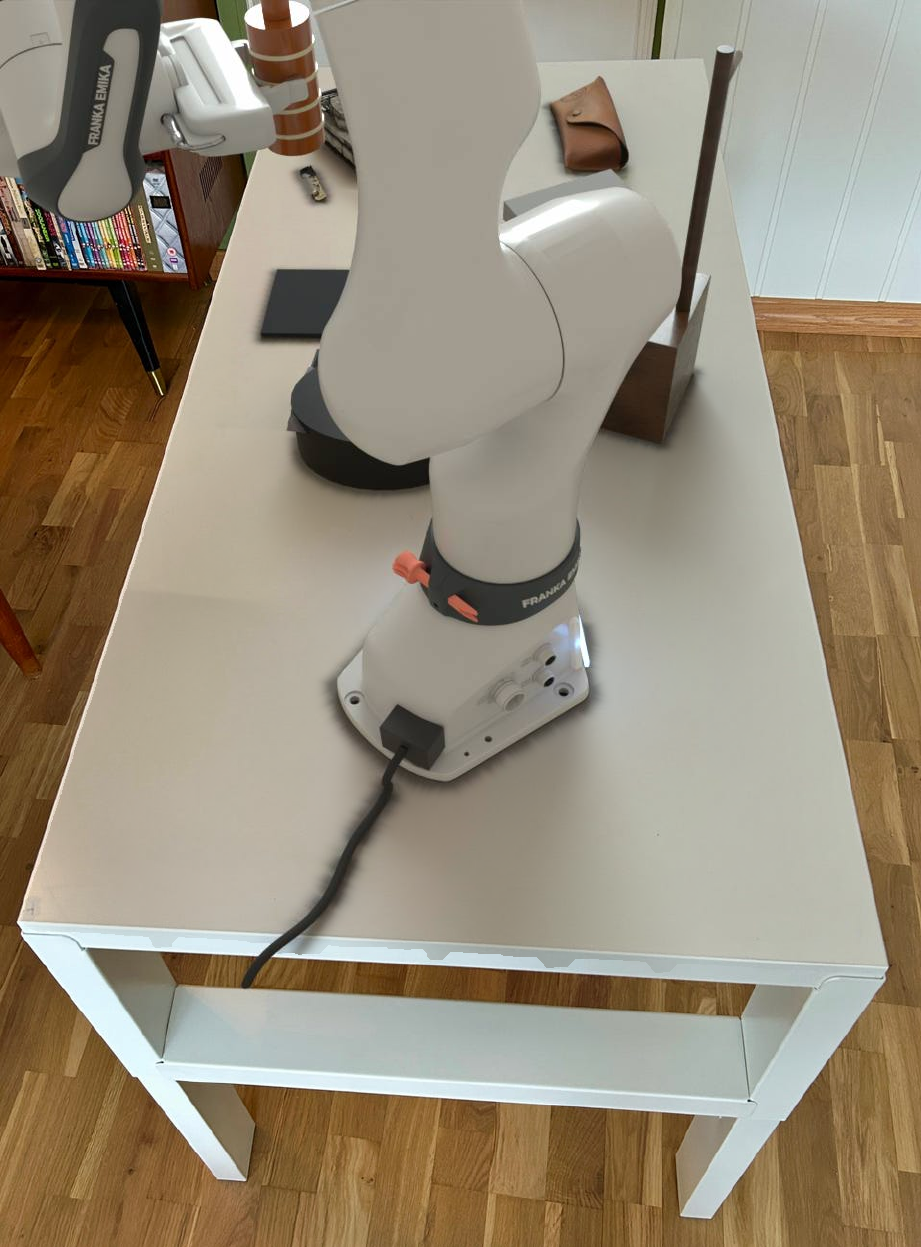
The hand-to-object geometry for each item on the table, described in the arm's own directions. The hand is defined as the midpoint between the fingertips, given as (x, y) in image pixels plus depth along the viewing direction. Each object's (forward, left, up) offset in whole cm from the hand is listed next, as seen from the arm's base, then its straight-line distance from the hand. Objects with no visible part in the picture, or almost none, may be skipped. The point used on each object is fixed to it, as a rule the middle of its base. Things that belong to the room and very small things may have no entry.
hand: (293, 68), depth 102 cm
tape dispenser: (-11, -22, -27) cm, 36 cm away
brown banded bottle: (-1, 0, -7) cm, 7 cm away
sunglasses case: (+48, +2, -27) cm, 55 cm away
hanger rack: (+11, -35, -27) cm, 45 cm away
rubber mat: (-1, 0, -27) cm, 27 cm away
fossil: (+13, +22, -27) cm, 38 cm away
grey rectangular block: (+22, -10, -24) cm, 34 cm away
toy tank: (+25, +20, -26) cm, 41 cm away
